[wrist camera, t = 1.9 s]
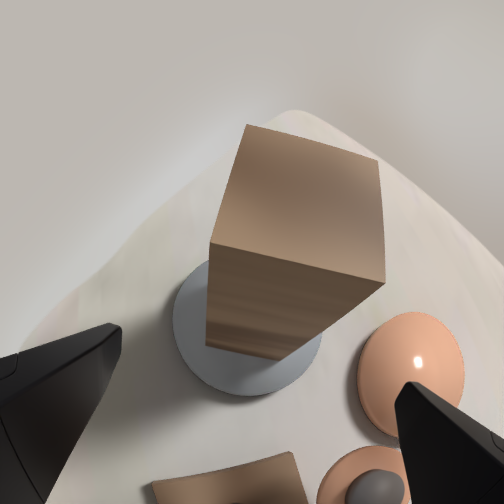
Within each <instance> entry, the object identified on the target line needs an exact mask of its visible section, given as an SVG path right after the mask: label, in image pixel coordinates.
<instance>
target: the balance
mask: <svg viewBox="0 0 504 504" xmlns="http://www.w3.org/2000/svg"><path fill="white" fill-rule="evenodd" d="M151 485H152V488H153V491H154V494H155V497H156V499H157V502H158V504H308V501H307V497H306V494H305V491H304V488H303V485H302V482H301V478H300V475H299V472H298V469H297V466H296V462H295V459H294V456H293V453H292V452H289V451H288V452H284V453H281V454H278V455H275V456H272V457H268V458H265V459H261V460H258V461H254V462H250V463H246V464H243V465H239V466H234V467H230V468H226V469H222V470H217V471H212V472H207V473H202V474H197V475H191V476H186V477H179V478H173V479H166V480H158V481H153V483H152V484H151ZM410 497H411V496H410V490H409V485H408V480H407V476H406V471H405V466H404V462H403V457H402V453H400V452H399V451H397V450H395V449H393V448H389V447H383V446H366V447H362V448H359V449H356V450H353V451H352V452H350V453H348V454H346V455H345V456H343V457H342V458H340V459H339V460H338V461H337V462H336V463H335V464H334V465H333V466H332V467H331V468H330V469H329V470H328V472H327V473H326V475H325V476H324V478H323V480H322V482H321V484H320V486H319V489H318V493H317V500H316V504H408V502H409V500H410Z"/></svg>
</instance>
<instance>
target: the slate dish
mask: <svg viewBox="0 0 504 504" xmlns="http://www.w3.org/2000/svg"><path fill="white" fill-rule="evenodd" d="M208 265H209V260H208V261H206V262H204V263H203V264H201V265H200V266H199V267H197V268H196V269H195V270H194V271H193V272H192V273H191V274H190V275H189V276H188V278H187V279H186V280H185V281H184V283H183V285H182V286H181V288H180V290H179V292H178V294H177V297H176V300H175V304H174V308H173V316H172V322H173V332H174V337H175V341H176V344H177V347H178V349H179V351H180V354H181V356H182V358H183V359H184V361H185V362H186V364H187V366H188V367H189V368H190V369H191V370H192V372H193V373H194V374H195V375H196V376H198V377H199V378H200V379H201V380H202V381H204V382H205V383H207V384H208V385H210V386H211V387H213V388H215V389H217V390H220V391H223V392H226V393H229V394H233V395H239V396H256V395H262V394H267V393H271V392H274V391H276V390H279V389H282V388H284V387H285V386H287V385H289V384H291V383H292V382H294V381H295V380H296V379H298V378H299V377H300V376H301V375H302V374H303V373H304V372H305V371H306V370H307V368H308V367H309V366H310V364H311V363H312V361H313V360H314V358H315V356H316V354H317V351H318V349H319V346H320V342H321V338H322V332H321V333H320V334H319V335H317V336H316V337H314V338H313V339H312V340H310V341H309V342H307V343H306V344H305V345H303V346H302V347H300V348H299V349H297V350H296V351H294V352H293V353H291V354H290V355H289V356H287V357H286V358H284V359H283V360H281V361H275V360H269V359H264V358H259V357H254V356H249V355H244V354H239V353H235V352H230V351H226V350H221V349H217V348H213V347H208V346H205V337H206V308H207V285H208Z"/></svg>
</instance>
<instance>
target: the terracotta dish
mask: <svg viewBox="0 0 504 504" xmlns="http://www.w3.org/2000/svg"><path fill="white" fill-rule="evenodd" d="M464 378H465V371H464V362H463V357H462V354H461V350H460V348H459V345H458V343H457V341H456V339H455V337H454V336H453V335H452V333H451V332H450V330H449V329H448V328H447V327H446V326H445V325H444V324H443V323H442V322H440V321H439V320H438V319H436V318H434V317H432V316H430V315H428V314H425V313H420V312H409V313H404V314H400V315H398V316H396V317H394V318H392V319H390V320H389V321H387V322H385V323H384V324H382V325H381V326H380V327H379V328H377V329H376V330H375V331H374V332H373V334H372V335H371V336H370V337H369V339H368V341H367V342H366V344H365V346H364V348H363V350H362V353H361V356H360V359H359V364H358V371H357V387H358V394H359V398H360V402H361V404H362V407H363V409H364V411H365V413H366V415H367V416H368V418H369V419H370V421H371V422H372V423H373V424H374V425H375V426H376V427H377V428H378V429H379V430H381V431H382V432H384V433H386V434H388V435H390V436H393V437H396V438H399V437H398V430H397V422H396V415H395V409H394V403H395V400H396V398H397V396H398V394H399V393H400V391H401V389H402V388H403V386H404V384H405V383H406V382H408V381H414V382H419V383H420V384H422V385H423V386H425V387H426V388H428V389H429V390H431V391H432V392H434V393H435V394H437V395H438V396H440V397H441V398H443V399H444V400H446V401H447V402H449V403H450V404H451V405H453V406H454V407H456V408H457V407H458V405H459V402H460V399H461V396H462V393H463V388H464Z"/></svg>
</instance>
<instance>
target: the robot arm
mask: <svg viewBox="0 0 504 504" xmlns="http://www.w3.org/2000/svg"><path fill="white" fill-rule="evenodd" d="M121 344H122V329H121V327H120V326H118V325H115V324H112V323H106V324H103V325H100V326H97V327H94V328H91V329H88V330H85V331H82V332H79V333H76V334H73V335H70V336H68V337H65V338H62V339H59V340H55V341H52V342H49V343H46V344H43V345H40V346H37V347H34V348H31V349H28V350H25V351H22V352H19V353H18V354H17V353H15V354H12V355H10V356H6V357H3V358H0V504H45V503H46V501H47V499H48V497H49V495H50V493H51V491H52V489H53V487H54V485H55V483H56V481H57V479H58V477H59V475H60V473H61V471H62V469H63V467H64V465H65V464H66V462H67V460H68V458H69V456H70V454H71V452H72V450H73V449H74V447H75V445H76V443H77V441H78V439H79V438H80V436H81V434H82V432H83V430H84V428H85V427H86V425H87V423H88V421H89V420H90V418H91V416H92V414H93V412H94V411H95V409H96V407H97V405H98V404H99V402H100V400H101V398H102V396H103V394H104V392H105V390H106V388H107V385H108V383H109V380H110V378H111V376H112V373H113V371H114V369H115V366H116V364H117V362H118V359H119V357H120V354H121ZM394 409H395V415H396V422H397V430H398V437H399V444H400V449H401V453H402V457H403V462H404V466H405V471H406V476H407V480H408V485H409V490H410V496H411V501H412V504H504V439H503V438H501V437H500V436H498V435H497V434H495V433H493V432H492V431H490V430H489V429H487V428H486V427H484V426H483V425H481V424H480V423H478V422H477V421H475V420H474V419H472V418H471V417H469V416H468V415H466V414H465V413H463V412H462V411H460V410H459V409H457V408H456V407H454V406H453V405H451V404H450V403H449V402H447V401H446V400H444V399H443V398H441V397H440V396H438V395H437V394H435V393H434V392H432V391H431V390H429V389H428V388H426V387H425V386H423V385H422V384H420V383H419V382H414V381H408V382H406V383H405V384H404V386H403V388H402V389H401V391H400V393H399V394H398V396H397V398H396V400H395V403H394Z"/></svg>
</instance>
